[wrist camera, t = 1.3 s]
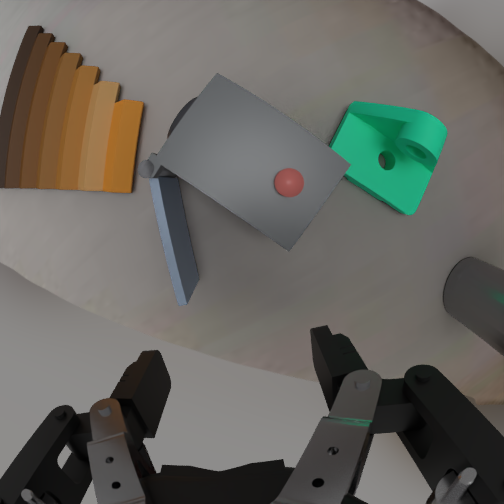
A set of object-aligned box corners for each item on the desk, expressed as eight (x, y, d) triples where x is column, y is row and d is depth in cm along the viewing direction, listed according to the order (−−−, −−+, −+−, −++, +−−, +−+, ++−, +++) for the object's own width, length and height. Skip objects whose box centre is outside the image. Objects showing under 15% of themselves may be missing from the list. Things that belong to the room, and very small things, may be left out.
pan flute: (32, 35, 23) (0, 186, 29) (21, 29, 20) (-15, 188, 25) (175, 5, 24) (137, 192, 30) (169, -8, 21) (125, 193, 27)
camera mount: (318, 162, 29) (351, 153, 19) (346, 107, 28) (386, 78, 18) (401, 215, 31) (453, 229, 21) (424, 162, 29) (479, 160, 19)
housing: (318, 170, 29) (355, 163, 19) (266, 243, 31) (276, 273, 20) (216, 100, 27) (201, 61, 17) (164, 174, 29) (124, 170, 19)
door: (201, 278, 31) (189, 304, 24) (187, 281, 31) (172, 306, 24) (177, 165, 28) (157, 160, 22) (163, 169, 28) (139, 165, 22)
